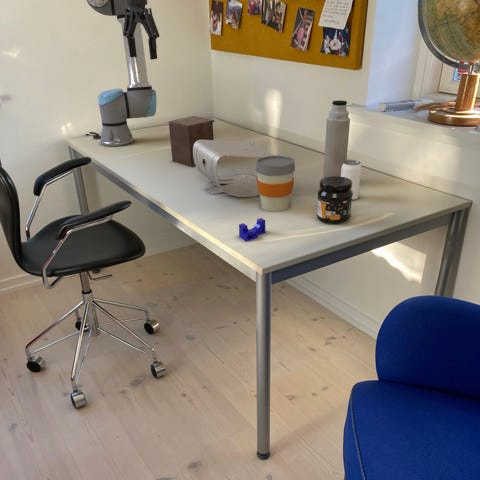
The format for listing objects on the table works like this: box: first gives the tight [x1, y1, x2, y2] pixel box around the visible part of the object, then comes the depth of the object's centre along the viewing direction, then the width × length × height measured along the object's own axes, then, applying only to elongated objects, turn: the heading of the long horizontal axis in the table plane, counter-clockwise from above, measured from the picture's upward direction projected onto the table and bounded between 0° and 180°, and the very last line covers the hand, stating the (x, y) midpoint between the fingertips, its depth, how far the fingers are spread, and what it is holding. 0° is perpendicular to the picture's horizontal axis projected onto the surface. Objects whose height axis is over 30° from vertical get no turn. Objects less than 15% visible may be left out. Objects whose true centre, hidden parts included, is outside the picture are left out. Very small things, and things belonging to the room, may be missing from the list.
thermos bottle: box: [322, 99, 351, 179], centre depth 184 cm, size 8×8×28 cm
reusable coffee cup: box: [255, 155, 296, 212], centre depth 168 cm, size 12×13×15 cm
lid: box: [168, 115, 215, 128], centre depth 212 cm, size 14×13×1 cm
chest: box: [168, 122, 215, 168], centre depth 216 cm, size 13×13×15 cm
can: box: [341, 159, 362, 201], centre depth 174 cm, size 6×6×12 cm
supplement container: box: [316, 176, 353, 225], centre depth 158 cm, size 10×10×12 cm
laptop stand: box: [193, 139, 280, 198], centre depth 185 cm, size 26×24×16 cm
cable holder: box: [238, 217, 266, 242], centre depth 151 cm, size 8×4×4 cm, turn 125°
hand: (143, 58), depth 199 cm, fingers open, 13 cm apart
